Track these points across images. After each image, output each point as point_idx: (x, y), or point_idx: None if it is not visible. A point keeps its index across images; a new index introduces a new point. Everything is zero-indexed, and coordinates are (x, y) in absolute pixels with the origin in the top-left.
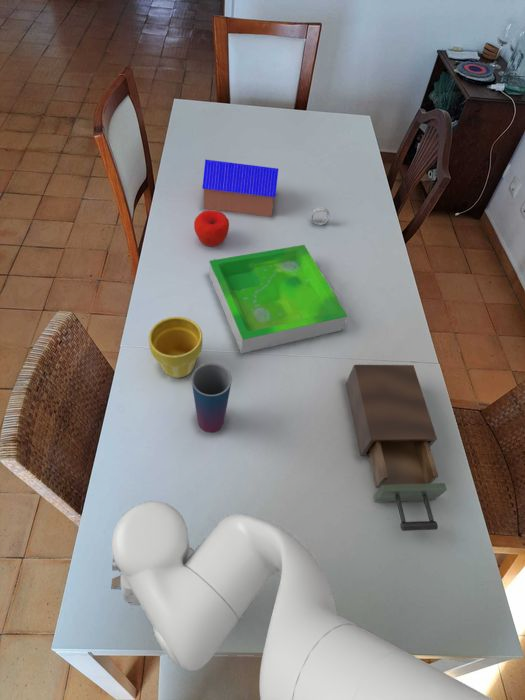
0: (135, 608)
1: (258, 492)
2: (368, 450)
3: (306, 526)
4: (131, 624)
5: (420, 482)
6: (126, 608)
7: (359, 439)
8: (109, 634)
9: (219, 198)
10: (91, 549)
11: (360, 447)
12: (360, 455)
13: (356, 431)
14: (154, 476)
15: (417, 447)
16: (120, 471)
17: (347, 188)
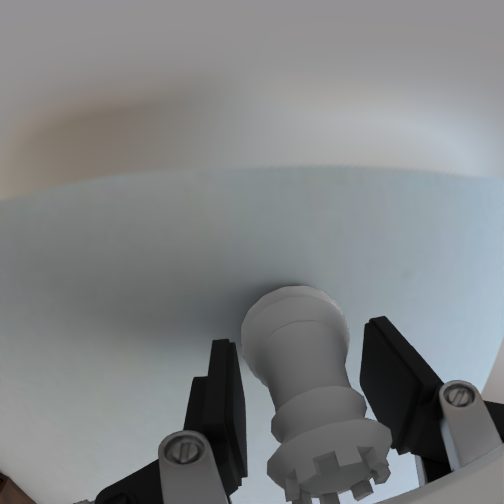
0: (398, 275)
1: None
2: (1, 483)
3: (13, 429)
4: (406, 229)
5: None
6: (421, 272)
7: (17, 495)
8: (456, 200)
9: None
10: (475, 376)
11: (12, 487)
12: (9, 478)
13: (28, 500)
14: (340, 499)
15: None
16: (401, 485)
17: None
